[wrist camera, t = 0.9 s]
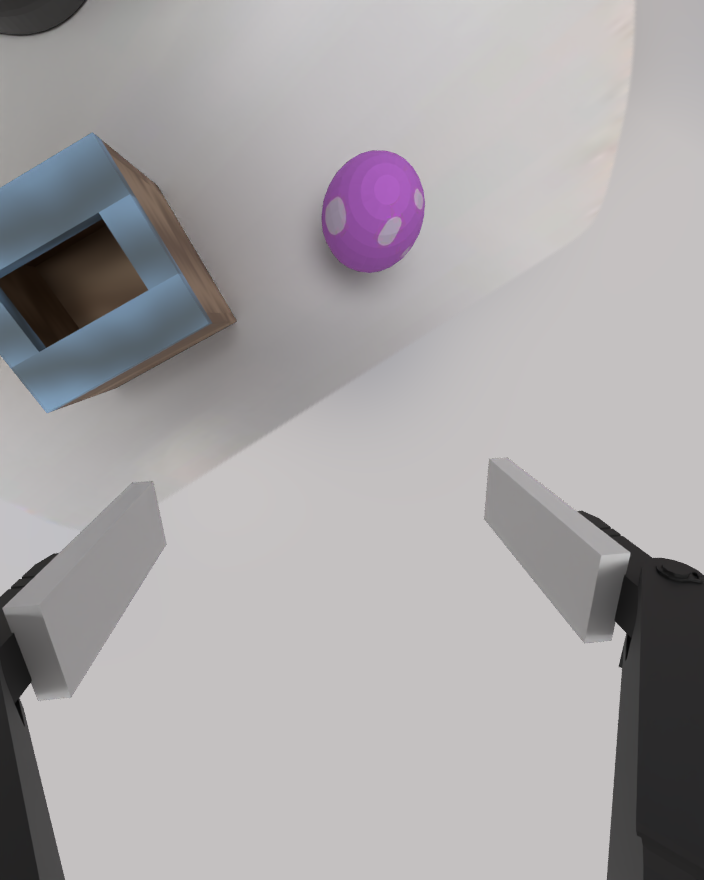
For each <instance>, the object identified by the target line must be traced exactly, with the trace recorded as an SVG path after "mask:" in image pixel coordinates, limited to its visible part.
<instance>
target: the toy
mask: <svg viewBox="0 0 704 880" xmlns="http://www.w3.org/2000/svg"><path fill="white" fill-rule="evenodd" d="M424 208H425V200H424V192H423V188H422V185H421V182H420V179H419V177H418V175H417V173H416V172H415V170H414V169H413V167H412V166H411V165H410V164H409V163H408V162H407V161H406V160H405V159H404V158H402V157H401V156H399V155H397V154H395V153H392V152H388V151H377V150H372V151H368V152H364V153H361V154H359V155H357V156H356V157H354V158H352V159H351V160H349V161H348V162H347V163H346V164H345V165H344V166H343V167H342V168H341V169H340V170H339V171H338V172H337V173H336V175H335V176H334V178H333V180H332V181H331V183H330V185H329V187H328V189H327V192H326V195H325V198H324V201H323V209H322V228H323V233H324V236H325V240H326V243H327V244H328V246H329V248H330V250H331V252H332V253H333V255H334V256H335V257H336V258H337V259H338V260H339V261H340V262H341V263H343V264H344V265H345V266H347V267H348V268H351V269H353V270H356V271H359V272H368V273H371V272H378V271H382V270H384V269H387V268H389V267H391V266H392V265H394V264H395V263H397V262H398V261H399V260H401V259H402V258H403V257H404V256H405V255H406V254H407V252H408V251H409V250H410V249H411V247H412V246H413V244H414V242H415V240H416V239H417V237H418V235H419V233H420V229H421V226H422V222H423V218H424Z"/></svg>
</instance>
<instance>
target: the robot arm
mask: <svg viewBox="0 0 704 880" xmlns="http://www.w3.org/2000/svg"><path fill="white" fill-rule="evenodd" d="M83 2H84V0H0V33H5V34H16V35H17V34H32V33H37V32H41V31H44V30H47V29H50V28H52V27H54V26H56V25H58V24H60V23H62V22H63V21H64V20H66V19H67V18H69V17H70V16H71V15H72V14H73V13H74V12H75V11H76V10H77V9H78V8H79V7H80V6H81V4H82V3H83ZM484 519H485V521H486V522H487V523H488V524H489V526H490V527H491V528H492V529H493V531H494V532H495V533H496V534H497V536H498V537H499V538H500V539H501V540H502V541H503V543H504V544H505V546H506V547H507V548H508V549H509V551H510V552H511V553H512V554H513V555H514V557H515V558H516V559H517V560H518V561H519V563H520V564H521V565H522V567H523V568H524V569H525V570H526V571H527V573H528V574H529V575H530V577H531V578H532V579H533V580H534V582H535V583H536V584H537V585H538V586H539V588H540V589H541V590H542V591H543V593H544V594H545V595H546V596H547V598H548V599H549V600H550V601H551V603H552V604H553V605H554V606H555V608H556V609H557V610H558V611H559V613H560V614H561V615H562V616H563V617H564V619H565V620H566V621H567V622H568V624H569V625H570V626H571V627H572V629H573V630H574V631H575V632H576V634H577V635H578V636H579V637H580V639H581V640H582V641H583V642H584V643H593V642H602V641H611V640H612V635H613V631H614V626H615V622H616V623H617V624H618V625H619V626H620V627H621V628H622V629H623V630H624V631H625V632H626V638H625V642H624V646H623V651H622V655H621V659H620V664H619V667H621V668H622V678H621V692H620V707H619V720H618V733H617V747H616V762H615V776H614V789H613V803H612V817H611V830H610V845H609V858H608V859H609V860H608V872H607V880H704V575H702V573H700V572H699V571H698V570H696V569H694V568H692V567H690V566H688V565H686V564H684V563H681V562H677V561H675V560H670V559H665V558H652V557H650V556H649V555H648V554H646V553H645V552H643V551H642V550H641V549H640V548H638V547H637V546H636V545H634V544H633V543H631V542H630V541H629V540H627V539H626V538H625V537H623V536H621V535H620V534H619V533H618V532H616V531H615V530H614V529H611V527H610V526H608V525H607V524H606V523H604V522H603V521H602V520H600V519H599V518H597V517H595V516H593V515H590V514H588V513H586V512H583V511H576V510H574V509H573V508H572V507H571V506H569V505H568V504H567V503H565V502H564V501H563V500H562V499H560V498H559V497H558V496H556V495H555V494H554V493H553V492H551V491H550V490H549V489H547V488H546V487H545V486H544V485H542V484H541V483H540V482H538V481H537V480H536V479H535V478H533V477H532V476H531V475H529V474H528V473H527V472H525V471H524V470H523V469H522V468H520V467H519V466H517V465H516V464H515V463H514V462H513V461H511V460H510V459H509V458H492V459H489V466H488V478H487V491H486V504H485V516H484ZM165 546H166V540H165V535H164V531H163V526H162V521H161V516H160V512H159V507H158V502H157V497H156V493H155V488H154V483H153V481H151V482H136V483H131V484H130V485H129V486H128V487H127V488H126V489H125V490H124V491H123V492H122V493H121V494H120V495H119V496H118V497H117V498H116V499H115V500H114V501H113V502H112V503H111V504H110V505H109V506H108V507H107V508H105V509H104V510H103V511H102V512H101V513H100V514H99V515H98V516H97V517H96V518H95V519H94V520H93V521H92V522H91V523H90V524H89V525H88V526H87V527H86V528H85V529H84V530H83V531H82V532H81V533H80V534H79V535H77V537H75V538H74V539H73V540H72V541H71V542H70V543H69V544H68V545H67V546H66V547H65V548H64V549H63V550H62V551H61V552H60V553H57V554H52V555H51V556H49V557H47V558H46V559H44V560H42V561H41V562H39V563H37V564H35V565H34V566H33V567H32V568H31V569H30V570H29V571H28V572H27V573H26V574H25V575H23V577H22V579H19V580H18V581H17V582H16V583H15V584H14V585H13V586H12V587H11V589H9V590H7V591H6V592H5V593H4V594H3V595H2V596H1V597H0V880H65V878H64V874H63V870H62V865H61V861H60V857H59V853H58V849H57V845H56V841H55V837H54V832H53V828H52V824H51V820H50V816H49V812H48V808H47V804H46V799H45V795H44V791H43V787H42V783H41V779H40V775H39V770H38V766H37V762H36V758H35V754H34V750H33V746H32V742H31V738H30V733H29V729H28V725H27V721H26V717H25V713H24V709H23V706H22V704H21V701H20V699H19V697H20V696H21V695H22V693H23V692H24V690H25V689H26V688H27V687H28V685H29V684H30V683H31V684H32V686H33V689H34V692H35V694H36V697H37V700H38V701H41V700H50V699H60V698H70V697H72V695H73V694H74V692H75V690H76V689H77V687H78V685H79V684H80V682H81V681H82V679H83V678H84V676H85V674H86V673H87V671H88V669H89V668H90V666H91V665H92V663H93V661H94V660H95V658H96V657H97V655H98V653H99V652H100V650H101V649H102V647H103V645H104V643H105V642H106V641H107V639H108V637H109V636H110V634H111V633H112V631H113V629H114V628H115V626H116V624H117V623H118V621H119V620H120V618H121V616H122V615H123V613H124V612H125V610H126V608H127V607H128V605H129V603H130V602H131V600H132V599H133V597H134V595H135V594H136V592H137V591H138V589H139V588H140V586H141V584H142V583H143V581H144V579H145V578H146V576H147V575H148V573H149V571H150V570H151V568H152V566H153V565H154V563H155V562H156V560H157V559H158V557H159V555H160V554H161V552H162V551H163V549H164V547H165Z"/></svg>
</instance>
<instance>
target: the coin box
mask: <svg viewBox="0 0 704 880" xmlns="http://www.w3.org/2000/svg"><path fill="white" fill-rule="evenodd" d="M235 322H237V321H236V319H235V317H234V316H233V314H232V312H231V310H230V309H229V307H228V305H227V304H226V302H225V300H224V299H223V297H222V295H221V293H220V292H219V290H218V288H217V287H216V285H215V283H214V281H213V280H212V278H211V276H210V275H209V273H208V271H207V270H206V268H205V266H204V264H203V263H202V261H201V259H200V258H199V256H198V254H197V252H196V251H195V249H194V247H193V246H192V244H191V242H190V241H189V239H188V237H187V235H186V234H185V232H184V230H183V229H182V227H181V225H180V223H179V222H178V220H177V218H176V217H175V215H174V213H173V212H172V210H171V208H170V206H169V205H168V203H167V201H166V200H165V198H164V196H163V194H162V193H161V191H160V189H159V188H158V186H157V185H156V184H155V183H153V182H152V181H151V180H150V179H149V178H147V177H146V176H145V175H144V174H142V173H141V172H140V171H139V170H138V169H136V168H135V167H134V166H133V165H131V164H130V163H129V162H128V161H127V160H125V159H124V158H123V157H122V156H121V155H119V154H118V153H117V152H116V151H114V150H113V149H112V148H111V147H110V146H108V145H107V144H106V143H105V142H103V141H102V140H101V139H100V138H99V137H97V136H96V135H95V134H94V133H90V134H89V135H87V136H86V137H84V138H82V139H81V140H79V141H77V142H76V143H74V144H72V145H71V146H69V147H67V148H66V149H64V150H62V151H61V152H59V153H57V154H56V155H54V156H52V157H51V158H49V159H47V160H46V161H44V162H42V163H41V164H39V165H37V166H36V167H34V168H32V169H31V170H29V171H27V172H26V173H24V174H22V175H21V176H19V177H17V178H16V179H14V180H12V181H11V182H9V183H7V184H6V185H4V186H2V187H1V188H0V355H1V357H2V358H3V359H4V360H5V362H6V363H7V364H8V365H9V367H10V368H11V369H12V370H13V371H14V373H15V374H16V375H17V376H18V378H19V379H20V380H21V381H22V383H23V384H24V385H25V386H26V388H27V389H28V390H29V391H30V393H31V394H32V395H33V396H34V398H35V399H36V400H37V401H38V403H39V404H40V405H41V406H42V408H43V409H44V410H45V411H46V413H49V412H52V411H54V410H57V409H60V408H63V407H65V406H68V405H71V404H74V403H76V402H79V401H82V400H85V399H87V398H90V397H93V396H96V395H98V394H101V393H104V392H107V391H109V390H112V389H115V388H117V387H119V386H121V385H122V384H124V383H126V382H128V381H130V380H131V379H133V378H135V377H137V376H139V375H141V374H142V373H144V372H146V371H148V370H150V369H151V368H153V367H155V366H157V365H159V364H161V363H162V362H164V361H166V360H168V359H170V358H171V357H173V356H175V355H177V354H179V353H180V352H182V351H184V350H186V349H188V348H190V347H191V346H193V345H195V344H197V343H199V342H200V341H202V340H204V339H206V338H208V337H209V336H211V335H213V334H215V333H217V332H219V331H220V330H222V329H224V328H226V327H228V326H229V325H231V324H233V323H235Z"/></svg>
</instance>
